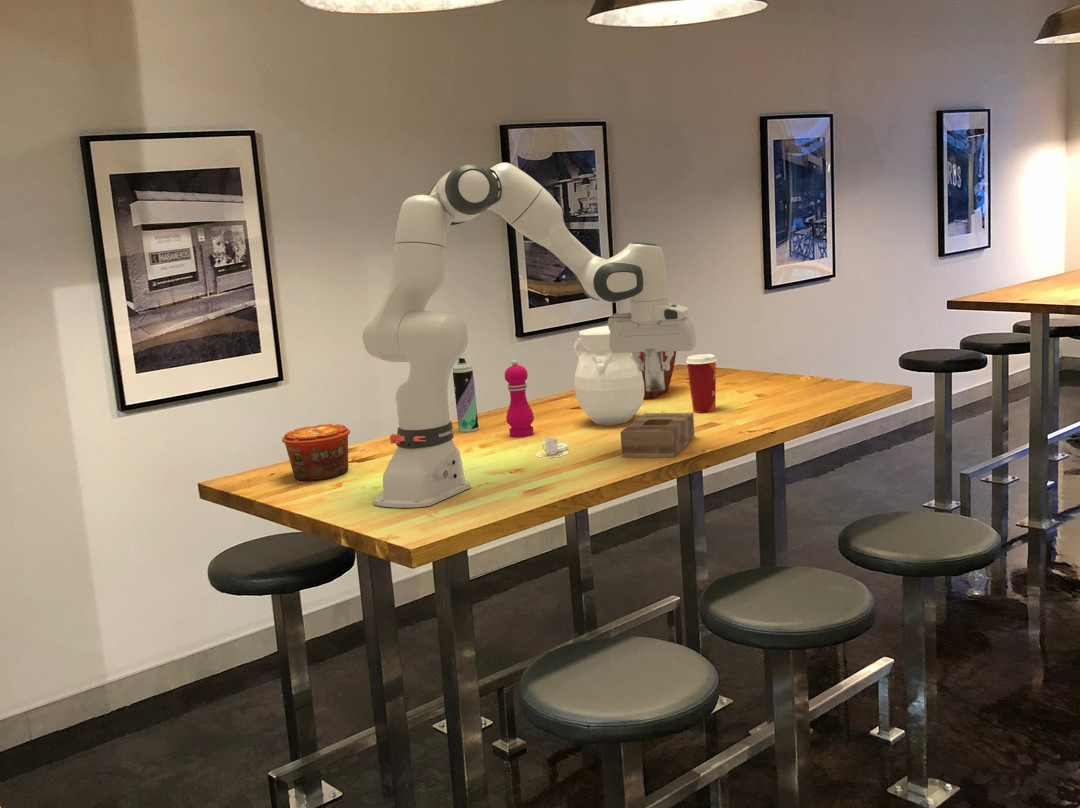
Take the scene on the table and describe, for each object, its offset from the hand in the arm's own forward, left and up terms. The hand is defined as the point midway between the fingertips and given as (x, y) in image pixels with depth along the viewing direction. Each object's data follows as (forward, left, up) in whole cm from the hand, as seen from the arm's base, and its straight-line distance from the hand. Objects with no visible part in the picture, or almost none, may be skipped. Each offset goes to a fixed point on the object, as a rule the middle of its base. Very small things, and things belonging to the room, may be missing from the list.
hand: (654, 370), depth 247 cm
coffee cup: (+40, -1, -19) cm, 44 cm away
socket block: (0, 0, -18) cm, 18 cm away
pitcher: (+27, +21, -19) cm, 39 cm away
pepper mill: (+12, +41, -19) cm, 46 cm away
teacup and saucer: (-7, +22, -19) cm, 30 cm away
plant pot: (+63, +24, -19) cm, 70 cm away
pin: (0, 0, -5) cm, 5 cm away
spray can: (+17, +59, -19) cm, 64 cm away
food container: (-29, +76, -19) cm, 84 cm away
